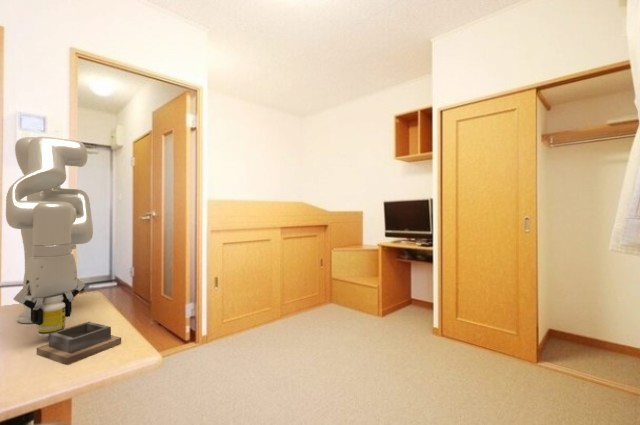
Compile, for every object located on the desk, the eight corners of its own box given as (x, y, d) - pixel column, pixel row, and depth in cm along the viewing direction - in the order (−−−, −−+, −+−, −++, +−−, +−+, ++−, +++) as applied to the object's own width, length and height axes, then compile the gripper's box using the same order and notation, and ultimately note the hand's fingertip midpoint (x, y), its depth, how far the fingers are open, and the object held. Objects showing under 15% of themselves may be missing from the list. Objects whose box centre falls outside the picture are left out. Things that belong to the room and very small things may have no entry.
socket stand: (36, 354, 73) (36, 335, 73) (91, 335, 84) (91, 318, 84) (67, 365, 68) (67, 344, 68) (121, 343, 79) (121, 325, 79)
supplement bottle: (67, 332, 82) (67, 295, 81) (39, 339, 77) (39, 300, 77) (63, 326, 85) (63, 291, 85) (36, 332, 81) (36, 295, 81)
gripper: (80, 245, 90) (79, 307, 91) (0, 253, 74) (0, 328, 75) (96, 248, 87) (95, 312, 88) (17, 257, 71) (17, 335, 72)
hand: (51, 319), depth 81 cm, fingers closed on supplement bottle, 5 cm apart
